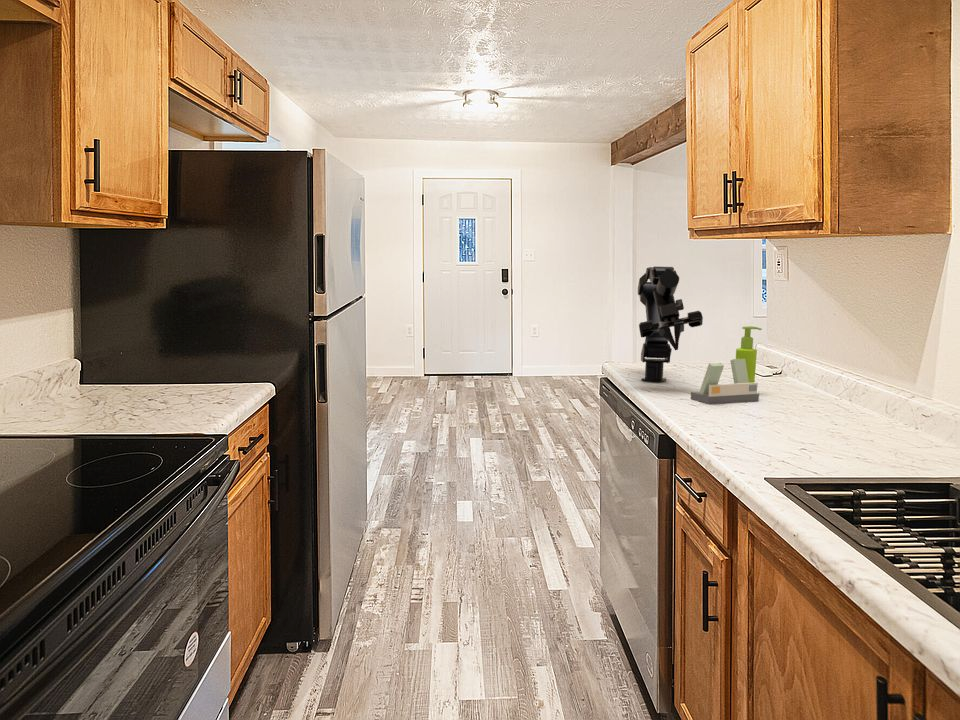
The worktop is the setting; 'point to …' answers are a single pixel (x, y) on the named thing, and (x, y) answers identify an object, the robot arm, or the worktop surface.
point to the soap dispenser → (748, 353)
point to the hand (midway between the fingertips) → (676, 349)
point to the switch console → (728, 393)
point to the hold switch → (739, 371)
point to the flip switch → (711, 376)
